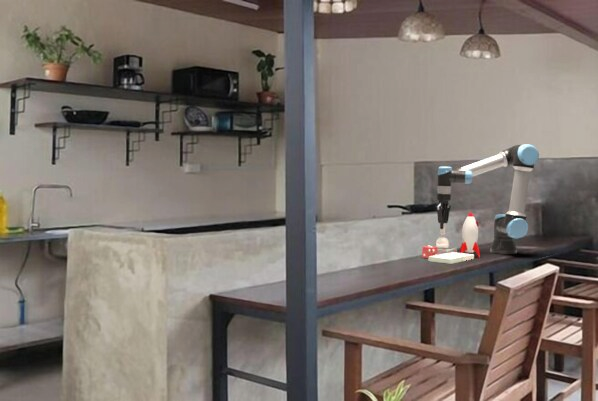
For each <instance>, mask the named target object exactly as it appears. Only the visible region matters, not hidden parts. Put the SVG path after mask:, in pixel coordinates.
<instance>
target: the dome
mask: <svg viewBox="0 0 598 401" xmlns="http://www.w3.org/2000/svg"><path fill="white" fill-rule="evenodd" d="M435 247H437V249H443V250H446V249H449V248H450V241H449V239H448V238H446V237H444V236H440V237H438V238H437V239H436V241H435Z"/></svg>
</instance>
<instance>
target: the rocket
mask: <svg viewBox="0 0 598 401" xmlns="http://www.w3.org/2000/svg"><path fill="white" fill-rule="evenodd" d="M461 229H462V230H461V240H462V243H461V245H460V248H459V253H465V254H474V252H475V253H476V255H477V256H478V258H479V259H481V258H480V257H481V256H480V249H479V245H478V244H477V242H478V238H479V222H478V220H477V219H476V218H475V215H474V214H473V213H472V212H469V213H468V215H467V217H466V218H465V220H464V222H463V224H462V228H461Z"/></svg>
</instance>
